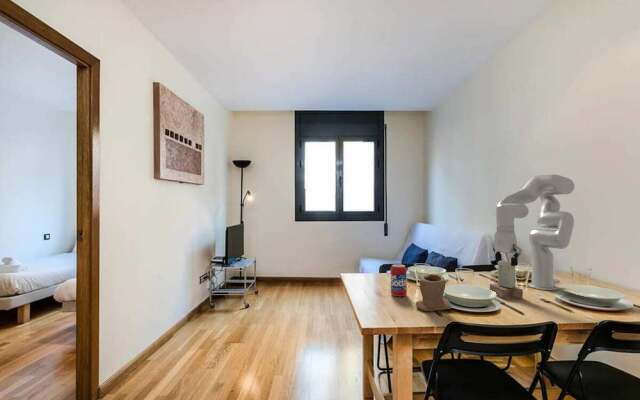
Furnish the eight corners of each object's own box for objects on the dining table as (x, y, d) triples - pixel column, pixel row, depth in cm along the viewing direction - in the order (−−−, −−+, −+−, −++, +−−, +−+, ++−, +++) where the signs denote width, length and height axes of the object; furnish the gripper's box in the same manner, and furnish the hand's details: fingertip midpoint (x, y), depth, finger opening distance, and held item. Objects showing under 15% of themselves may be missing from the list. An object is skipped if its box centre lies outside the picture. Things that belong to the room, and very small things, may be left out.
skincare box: (515, 287, 148) (516, 262, 148) (511, 288, 146) (512, 263, 146) (501, 284, 153) (502, 260, 153) (497, 285, 151) (498, 260, 151)
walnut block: (509, 293, 154) (509, 283, 154) (522, 300, 144) (522, 289, 144) (489, 293, 154) (489, 284, 154) (502, 300, 144) (502, 289, 144)
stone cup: (424, 315, 125) (424, 279, 125) (412, 305, 136) (412, 272, 136) (458, 313, 126) (458, 277, 126) (444, 304, 138) (443, 271, 138)
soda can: (405, 293, 155) (405, 263, 155) (408, 297, 147) (407, 267, 147) (389, 292, 156) (389, 263, 156) (391, 297, 148) (391, 266, 148)
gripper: (485, 228, 157) (486, 260, 157) (513, 231, 140) (514, 268, 140) (498, 227, 159) (498, 259, 159) (526, 230, 142) (527, 266, 142)
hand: (506, 263), depth 150 cm, fingers open, 9 cm apart
